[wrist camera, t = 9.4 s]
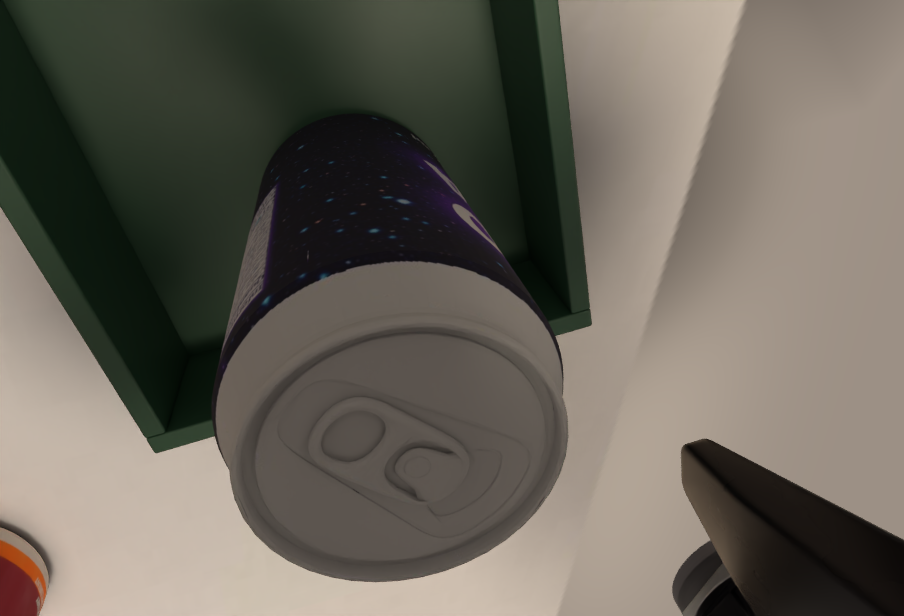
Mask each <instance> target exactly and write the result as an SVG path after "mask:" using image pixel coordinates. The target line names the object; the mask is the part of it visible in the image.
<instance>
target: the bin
mask: <svg viewBox="0 0 904 616" xmlns="http://www.w3.org/2000/svg"><path fill="white" fill-rule="evenodd" d="M353 113H357V114H368V115H374V116H378V117H382V118H385V119H388V120H391V121H393V122H395V123H397V124H400V125H402V126H403V127H405V128H407V129H408V130H410V131H411V132H412V133H414V134H415V135H416V136H418V137H419V138H420V139H421V140H422V141H423V142H424V143H425V144H426V145H427V146H428V147H429V148H430V150H431V151H432V152H433V154H434V155H435V156H436V158H437V159H438V161H439V162H440V164H441V165H442V167H443V168H444V170H445V171H446V173H447V174H448V175H449V177H450V178H451V180H452V181H453V183H454V184H455V186H456V187H457V189H458V190H459V192H460V193H461V194H462V196H463V197H464V199H465V200H466V202H467V203H468V205H469V206H470V208H471V209H472V211H473V212H474V213H475V215H476V216H477V218H478V219H479V221H480V222H481V224H482V225H483V227H484V228H485V230H486V231H487V232H488V234H489V235H490V237H491V238H492V240H493V241H494V243H495V244H496V246H497V247H498V248H499V250H500V251H501V253H502V254H503V256H504V257H505V259H506V260H507V262H508V263H509V265H510V266H511V267H512V269H513V270H514V272H515V273H516V275H517V276H518V278H519V279H520V281H521V282H522V284H523V285H524V286H525V288H526V289H527V291H528V292H529V294H530V295H531V297H532V298H533V300H534V301H535V303H536V304H537V305H538V307H539V308H540V310H541V311H542V313H543V314H544V316H545V317H546V319H547V321H548V322H549V324H550V326H551V328H552V330H553V332H554V334H555V336H557V335H560V334H564V333H567V332H571V331H574V330H577V329H581V328H584V327H588V326H591V324H592V321H591V312H590V309H589V308H590V303H589V293H588V284H587V274H586V264H585V255H584V245H583V236H582V226H581V217H580V207H579V197H578V188H577V178H576V169H575V159H574V149H573V140H572V130H571V121H570V111H569V102H568V92H567V82H566V73H565V63H564V54H563V44H562V34H561V25H560V15H559V6H558V0H0V207H1V208H2V210H3V212H4V213H5V215H6V216H7V218H8V220H9V221H10V223H11V224H12V226H13V228H14V229H15V231H16V232H17V234H18V235H19V237H20V239H21V240H22V242H23V243H24V245H25V247H26V248H27V250H28V251H29V253H30V255H31V256H32V258H33V259H34V261H35V263H36V264H37V266H38V267H39V269H40V271H41V272H42V274H43V275H44V277H45V279H46V280H47V282H48V283H49V285H50V287H51V288H52V290H53V291H54V293H55V294H56V296H57V298H58V299H59V301H60V302H61V304H62V306H63V307H64V309H65V310H66V312H67V314H68V315H69V317H70V318H71V320H72V322H73V323H74V325H75V326H76V328H77V330H78V331H79V333H80V334H81V336H82V338H83V339H84V341H85V342H86V344H87V346H88V347H89V349H90V350H91V352H92V353H93V355H94V357H95V358H96V360H97V361H98V363H99V365H100V366H101V368H102V369H103V371H104V373H105V374H106V376H107V377H108V379H109V381H110V382H111V384H112V385H113V387H114V389H115V390H116V392H117V393H118V395H119V397H120V398H121V400H122V401H123V403H124V405H125V406H126V408H127V409H128V411H129V413H130V414H131V416H132V417H133V419H134V420H135V422H136V424H137V425H138V427H139V428H140V430H141V432H142V433H143V435H144V436H145V437H146V438H147V441H148V443H149V444H150V446H151V448H152V449H153V451H154V452H155V453H159V452H163V451H166V450H169V449H173V448H176V447H180V446H183V445H186V444H190V443H193V442H197V441H200V440H203V439H207V438H210V437H214V436H215V434H214V430H213V423H212V394H213V387H214V382H215V378H216V373H217V369H218V365H219V360H220V356H221V352H222V348H223V343H224V339H225V335H226V330H227V326H228V322H229V318H230V313H231V309H232V305H233V300H234V296H235V292H236V288H237V283H238V279H239V275H240V270H241V266H242V262H243V257H244V253H245V249H246V245H247V240H248V236H249V232H250V227H251V223H252V219H253V215H254V210H255V206H256V202H257V197H258V193H259V189H260V185H261V181H262V177H263V174H264V172H265V169H266V167H267V165H268V163H269V161H270V160H271V158H272V156H273V155H274V154H275V152H276V151H277V149H278V148H279V147H280V146H281V145H282V144H283V143H284V142H285V141H286V140H287V139H288V138H289V137H290V136H291V135H293V134H294V133H295V132H297V131H298V130H299V129H301V128H303V127H304V126H306V125H308V124H310V123H312V122H314V121H317V120H320V119H322V118H326V117H329V116H334V115H339V114H353Z"/></svg>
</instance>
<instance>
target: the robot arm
mask: <svg viewBox="0 0 904 616" xmlns="http://www.w3.org/2000/svg"><path fill="white" fill-rule="evenodd" d="M681 464H682V465H681V466H682V484H683V488H684V490H685V493H686V495H687V497H688V499H689V501H690V502H691V504H692V506H693V508H694V510H695V512H696V514H697V515H698V517H699V519H700V521H701V523H702V525H703V526H704V528H705V530H706V532H707V534H708V536H709V537H710V539H711V541H712V543H713V545H714V547H715V549H716V551H717V552H718V554H719V556H720V558H721V560H722V562H723V563H724V565H725V567H726V569H727V571H728V572H729V574H730V576H731V578H732V580H731V581H730V582H729V584H728V585H727V586H726V587H725V588H724V590H723V591H722V592H721V593H720V594H719V596H718V597H717V598H716V599H715V600H714V602H713V603H712V604H711V605H710V606H709V608H708V609H707V610H706V611H705V612H704V614H703V615H702V616H904V540H903V539H901V538H899V537H897V536H895V535H893V534H892V533H889V532H888V531H886V530H884V529H882V528H880V527H878V526H876V525H874V524H872V523H870V522H868V521H866V520H864V519H863V518H861V517H859V516H857V515H855V514H853V513H851V512H849V511H847V510H845V509H843V508H841V507H839V506H837V505H835V504H833V503H831V502H830V501H828V500H825V499H824V498H822V497H820V496H818V495H816V494H814V493H812V492H810V491H808V490H806V489H804V488H803V487H801V486H799V485H797V484H795V483H793V482H791V481H789V480H787V479H785V478H783V477H781V476H779V475H777V474H775V473H774V472H772V471H770V470H768V469H766V468H764V467H762V466H760V465H758V464H756V463H754V462H752V461H750V460H748V459H746V458H745V457H742V456H741V455H738V454H737V453H735V452H733V451H731V450H729V449H727V448H725V447H723V446H721V445H719V444H717V443H715V442H714V441H711V440H709V439H701V440H698V441H694V442H691V443H688V444H685V445H684V446H683V447H682V450H681Z"/></svg>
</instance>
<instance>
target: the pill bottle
mask: <svg viewBox="0 0 904 616" xmlns="http://www.w3.org/2000/svg"><path fill="white" fill-rule="evenodd" d="M48 587H49V576H48V572H47V568H46V565H45V563H44V561H43V560H42V558H41V556H40V555H39V554H38V552H37V551H36V550H35V549H34V548H33V547H32V546H31V545H30V544H29V543H27V542H26V541H25V540H24V539H22V538H21V537H19V536H18V535H16V534H14V533H12V532H10V531H8V530H6V529H3V528H0V616H39V613H40V611H41V609H42V606H43V603H44V600H45V597H46V595H47V591H48Z"/></svg>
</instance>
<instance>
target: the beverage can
mask: <svg viewBox="0 0 904 616" xmlns="http://www.w3.org/2000/svg"><path fill="white" fill-rule="evenodd" d="M562 395H563V364H562V358H561V353H560V349H559V345H558V342H557V340H556V337H555V334H554V332H553V330H552V328H551V326H550V324H549V322H548V321H547V319H546V317H545V316H544V314H543V313H542V311H541V310H540V308H539V307H538V305H537V304H536V303H535V301H534V300H533V298H532V297H531V295H530V294H529V292H528V291H527V289H526V288H525V286H524V285H523V284H522V282H521V281H520V279H519V278H518V276H517V275H516V273H515V272H514V270H513V269H512V267H511V266H510V265H509V263H508V262H507V260H506V259H505V257H504V256H503V254H502V253H501V251H500V250H499V248H498V247H497V246H496V244H495V243H494V241H493V240H492V238H491V237H490V235H489V234H488V232H487V231H486V230H485V228H484V227H483V225H482V224H481V222H480V221H479V219H478V218H477V216H476V215H475V213H474V212H473V211H472V209H471V208H470V206H469V205H468V203H467V202H466V200H465V199H464V197H463V196H462V194H461V193H460V192H459V190H458V189H457V187H456V186H455V184H454V183H453V181H452V180H451V178H450V177H449V175H448V174H447V173H446V171H445V170H444V168H443V167H442V165H441V164H440V162H439V161H438V159H437V158H436V156H435V155H434V154H433V152H432V151H431V150H430V148H429V147H428V146H427V145H426V144H425V143H424V142H423V141H422V140H421V139H420V138H419V137H418V136H416V135H415V134H414V133H412V132H411V131H410V130H408V129H407V128H405V127H403V126H402V125H400V124H397V123H395V122H393V121H391V120H388V119H385V118H382V117H378V116H374V115H368V114H357V113H353V114H339V115H334V116H329V117H326V118H322V119H320V120H317V121H314V122H312V123H310V124H308V125H306V126H304V127H303V128H301V129H299V130H298V131H297V132H295V133H294V134H293V135H291V136H290V137H289V138H288V139H287V140H286V141H285V142H284V143H283V144H282V145H281V146H280V147H279V148H278V149H277V151H276V152H275V154H274V155H273V156H272V158H271V160H270V161H269V163H268V165H267V167H266V169H265V172H264V174H263V177H262V181H261V185H260V189H259V193H258V197H257V202H256V206H255V210H254V215H253V219H252V223H251V227H250V232H249V236H248V240H247V245H246V249H245V253H244V257H243V262H242V266H241V270H240V275H239V279H238V283H237V288H236V292H235V296H234V300H233V305H232V309H231V313H230V318H229V322H228V326H227V330H226V335H225V339H224V343H223V348H222V352H221V356H220V360H219V365H218V369H217V373H216V378H215V382H214V387H213V394H212V423H213V430H214V434H215V438H216V442H217V445H218V448H219V450H220V452H221V455H222V457H223V459H224V461H225V463H226V465H227V467H228V469H229V470H230V481H231V486H232V490H233V494H234V498H235V501H236V503H237V505H238V507H239V510H240V512H241V514H242V516H243V518H244V520H245V521H246V523H247V524H248V525H249V527H250V528H251V529H252V531H253V532H254V534H255V535H256V536H257V537H258V538H259V539H260V540H261V541H262V542H264V543H265V544H266V545H267V546H268V547H269V548H270V549H271V550H273V551H274V552H276V553H277V554H279V555H280V556H282V557H283V558H285V559H286V560H288V561H290V562H292V563H294V564H296V565H298V566H300V567H303V568H305V569H307V570H309V571H312V572H316V573H319V574H322V575H325V576H329V577H333V578H339V579H345V580H351V581H364V582H387V581H401V580H407V579H413V578H420V577H424V576H428V575H432V574H435V573H439V572H443V571H446V570H449V569H451V568H454V567H456V566H459V565H462V564H464V563H467V562H469V561H471V560H473V559H475V558H477V557H479V556H481V555H483V554H485V553H487V552H488V551H490V550H491V549H493V548H494V547H496V546H497V545H499V544H500V543H502V542H503V541H505V540H506V539H507V538H509V537H510V536H511V535H512V534H514V533H515V532H516V531H517V530H518V529H520V528H521V527H522V526H523V525H524V524H525V523H526V522H527V521H528V520H529V519H530V518H531V517H532V516H533V514H534V513H535V512H536V511H537V510H538V509H539V507H540V506H541V505H542V503H543V502H544V500H545V499H546V498H547V496H548V495H549V494H550V492H551V490H552V488H553V486H554V484H555V482H556V480H557V478H558V477H559V474H560V471H561V468H562V465H563V462H564V459H565V456H566V450H567V442H568V420H567V412H566V407H565V404H564V400H563V397H562Z"/></svg>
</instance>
